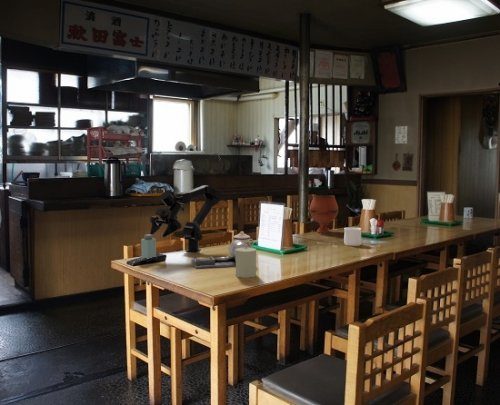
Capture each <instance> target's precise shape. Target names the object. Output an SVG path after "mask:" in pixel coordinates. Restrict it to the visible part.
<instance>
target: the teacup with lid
mask: <svg viewBox="0 0 500 405" xmlns="http://www.w3.org/2000/svg"><path fill="white" fill-rule="evenodd" d="M235 240H240V241H242V242H244V243H245V244H247V245H248V246H249V247H251V248H253V246H254V239H252V238H251V236H250V235H248V234H246V233H245V232H244V231H240V232H239V233H237V234H236V235H234V236H233V241H235ZM250 243H251V244H250Z"/></svg>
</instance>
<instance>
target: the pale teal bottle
mask: <svg viewBox="0 0 500 405" xmlns="http://www.w3.org/2000/svg"><path fill="white" fill-rule="evenodd" d="M153 235H154V234H153ZM153 235H151V234H150V233H149V234H144V236H143V238H141V241H140V242H141V243H140V246H141V248H140V249H141V259H142V258H147V259H149V258H152V257H156V258H157V241H156V240H157V239H156V238H154V237H153Z"/></svg>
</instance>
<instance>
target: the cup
mask: <svg viewBox="0 0 500 405" xmlns="http://www.w3.org/2000/svg"><path fill="white" fill-rule="evenodd" d="M343 231H344V234H343V235H344V236H343V243H344V245H345V246H348V247H349V246H350V247H359V246H361V244H362V228H361V227H356V226H355V227H353V226H351V227H350V226H348V227H344V228H343Z"/></svg>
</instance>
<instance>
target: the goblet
mask: <svg viewBox="0 0 500 405" xmlns="http://www.w3.org/2000/svg"><path fill="white" fill-rule="evenodd" d="M309 214H310V216H311V218H312V219H313V220H314V221H315V222H317V223H319V224H318V225H319V227H318V229H317V230H316V233H323V234H326V233H330V229H329V228H328V226H329V224H330V223H332V222H333V221H334V220H335V219H336V218H337V217H338V214H339V205H338V203H337V199H336V197H335V195H330V194H329V195H328V194H326V195H325V194H316V195H315V194H314V195H313V198H312V200H311V201H310V207H309Z"/></svg>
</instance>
